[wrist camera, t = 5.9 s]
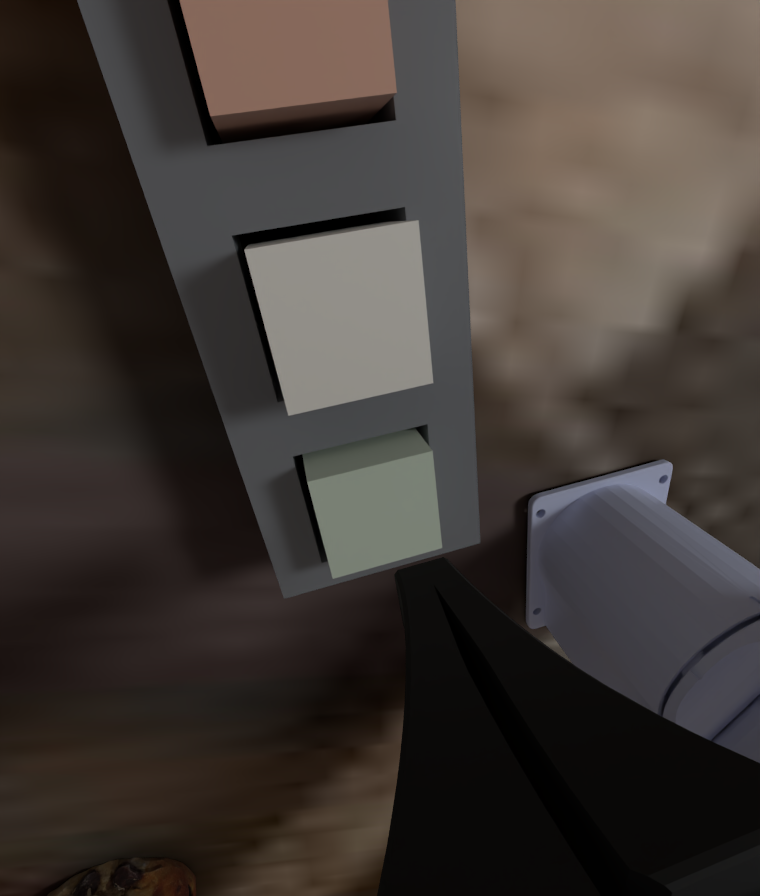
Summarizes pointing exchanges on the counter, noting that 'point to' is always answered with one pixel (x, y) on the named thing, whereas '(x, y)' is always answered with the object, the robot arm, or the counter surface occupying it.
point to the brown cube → (291, 64)
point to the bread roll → (132, 879)
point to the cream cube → (344, 312)
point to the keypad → (292, 203)
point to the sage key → (374, 500)
